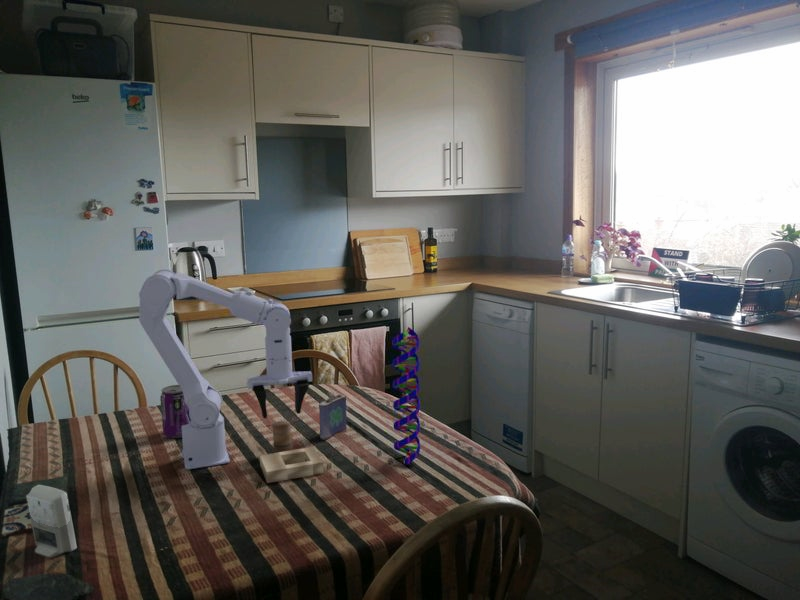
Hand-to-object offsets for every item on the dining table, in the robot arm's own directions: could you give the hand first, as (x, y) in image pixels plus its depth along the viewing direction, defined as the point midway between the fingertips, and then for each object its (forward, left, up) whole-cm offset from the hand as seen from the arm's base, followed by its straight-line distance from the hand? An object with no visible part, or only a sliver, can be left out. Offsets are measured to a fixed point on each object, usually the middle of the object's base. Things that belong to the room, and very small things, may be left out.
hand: (281, 414), depth 146 cm
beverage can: (-22, +22, -10) cm, 33 cm away
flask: (+14, +7, -10) cm, 18 cm away
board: (0, -10, -9) cm, 13 cm away
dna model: (+25, -15, -10) cm, 31 cm away
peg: (0, 0, -9) cm, 9 cm away
